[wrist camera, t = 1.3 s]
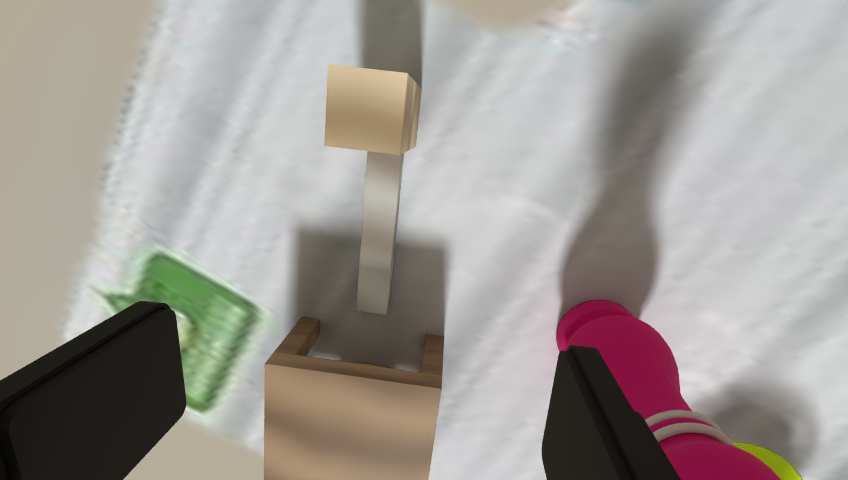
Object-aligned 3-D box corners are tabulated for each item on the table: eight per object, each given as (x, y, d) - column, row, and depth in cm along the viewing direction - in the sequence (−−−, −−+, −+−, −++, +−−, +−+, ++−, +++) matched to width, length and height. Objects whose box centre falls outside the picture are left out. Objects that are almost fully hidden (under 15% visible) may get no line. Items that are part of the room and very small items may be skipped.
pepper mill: (537, 310, 33) (655, 572, 14) (628, 280, 32) (898, 520, 12) (565, 385, 34) (705, 713, 15) (652, 359, 33) (925, 679, 14)
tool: (365, 82, 29) (328, 63, 20) (421, 88, 29) (407, 73, 20) (350, 301, 34) (314, 362, 25) (398, 308, 34) (379, 371, 25)
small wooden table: (301, 317, 34) (264, 363, 28) (444, 336, 34) (441, 388, 27) (298, 417, 37) (264, 481, 30) (429, 436, 37) (424, 506, 30)
